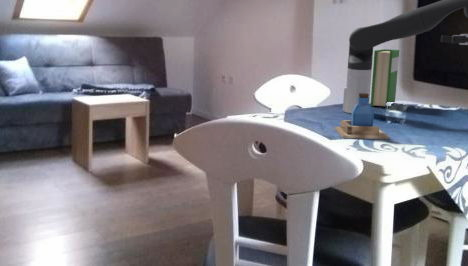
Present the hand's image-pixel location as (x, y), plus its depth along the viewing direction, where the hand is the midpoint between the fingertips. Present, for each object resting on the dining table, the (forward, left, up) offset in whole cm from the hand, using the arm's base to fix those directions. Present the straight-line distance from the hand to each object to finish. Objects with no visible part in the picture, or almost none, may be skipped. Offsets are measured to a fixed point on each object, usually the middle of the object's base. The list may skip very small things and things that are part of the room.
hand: (446, 39), depth 159 cm
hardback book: (-43, +41, -30) cm, 67 cm away
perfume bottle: (-15, -23, -29) cm, 40 cm away
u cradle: (-15, -23, -30) cm, 40 cm away
